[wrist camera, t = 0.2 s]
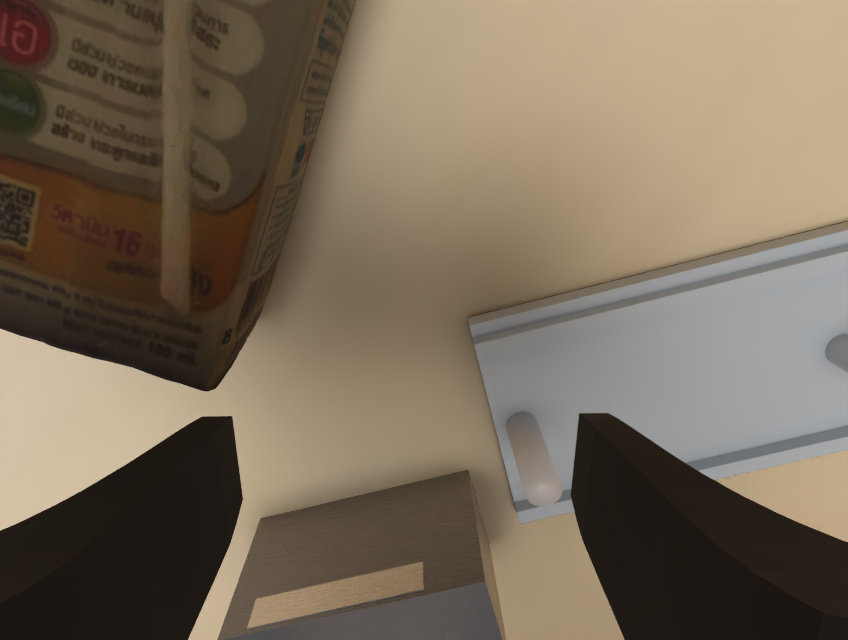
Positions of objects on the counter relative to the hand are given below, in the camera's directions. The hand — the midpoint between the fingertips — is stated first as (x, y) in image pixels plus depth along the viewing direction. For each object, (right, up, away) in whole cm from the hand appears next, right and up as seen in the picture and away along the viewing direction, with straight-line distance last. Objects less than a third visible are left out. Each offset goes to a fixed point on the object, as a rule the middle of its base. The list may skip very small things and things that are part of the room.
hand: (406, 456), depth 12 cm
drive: (-2, -6, +13) cm, 14 cm away
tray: (+10, +1, +10) cm, 14 cm away
